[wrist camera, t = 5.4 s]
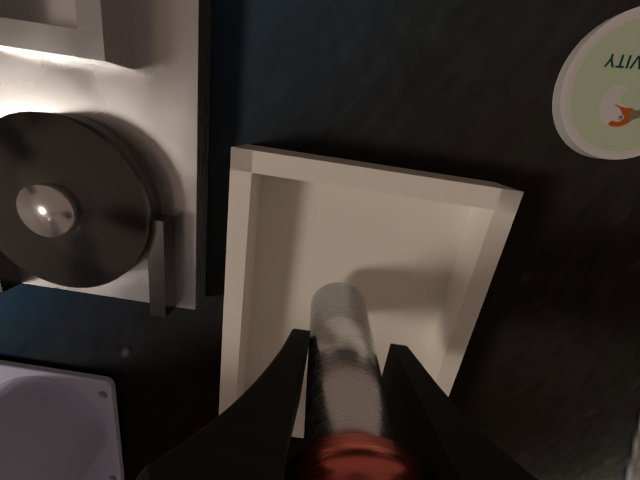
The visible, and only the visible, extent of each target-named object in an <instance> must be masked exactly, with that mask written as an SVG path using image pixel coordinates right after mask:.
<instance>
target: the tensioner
mask: <svg viewBox="0 0 640 480" xmlns="http://www.w3.org/2000/svg"><path fill="white" fill-rule="evenodd" d="M211 28H212V0H0V292H4V291H6V290H8V289H10V288H12V287H14V286H16V285H18V284H20V283H26V284H32V285H39V286H45V287H52V288H58V289H65V290H71V291H78V292H84V293H91V294H97V295H104V296H110V297H116V298H123V299H129V300H136V301H142V302H149V303H150V315H154V316H160V317H166V316H167V315H168V314H169V313H170V312H171V311H172V310H173V309H174V308H175V307H181V308H188V309H194V310H195V309H196V308H197V307H198V306H199V304H200V303H201V302H202V300H203V299H204V298H205V288H206V245H207V202H208V158H209V115H210V72H211Z"/></svg>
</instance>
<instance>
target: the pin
mask: <svg viewBox="0 0 640 480" xmlns="http://www.w3.org/2000/svg"><path fill="white" fill-rule="evenodd" d="M309 331H311V332H310V341H309V347H308V366H307V385H306V405H305V424H304V443H303V449H301V450H300V451H299V452H298V453H297V454H296V455H295V456H293V458H292V459H291V460H290V462H289V464H288V466H287V468H286V471H285V478H284V480H423V476H422V473H421V469H420V466H419V463H418V461H417V460H416V458H415V457H414V456H413V454H412V453H411V452H410V451H409V450H407V449H406V448H405V447H403V446H402V445H400V444H398V443H397V442H396V437H395V433H394V429H393V424H392V420H391V415H390V411H389V406H388V402H387V397H386V393H385V389H384V384H383V380H382V375H381V371H380V366H379V362H378V358H377V353H376V349H375V344H374V340H373V335H372V331H371V327H370V322H369V318H368V313H367V309H366V304H365V300H364V297H363V295H362V294H361V292H360V291H359V290H358V289H357V288H356V287H354V286H352V285H350V284H347V283H341V282H335V283H330V284H327V285H325V286H323V287H321V288H320V289H319V290H317V291H316V293H315V294H314V296H313V297H312V300H311V309H310V328H309Z"/></svg>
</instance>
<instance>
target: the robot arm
mask: <svg viewBox="0 0 640 480" xmlns="http://www.w3.org/2000/svg"><path fill="white" fill-rule="evenodd" d="M310 332H311V331H308V330H301V329H295V328H294V329H293V330H291V332H290V335H289V336H288V338H287V340H286V342H285V343H284V345H283V347H282V348H281V350H280V351H279V352H278V354H277V355H276V357H275V358H274V359H273V361H272V362H271V363H270V365H269V366H268V367H267V368H266V369H265V371H264V372H263V373H262V374H261V375H260V376H259V378H258V379H257V380H256V381H255V382H254V383H253V384H252V385H251V386H250V387H249V388H248V389H247V390H246V391H245V392H244V393H243V394H242V395H241V396H240V397H239V398H238V399H237V400H236V401H235V402H234V403H233V404H232V405H231V406H229V407H228V408H227V409H226V410H225V411H224V412H223V413H221V414H220V415H219V416H218V417H217V418H215V419H214V420H213V421H212V422H210V423H209V424H207V425H206V426H205V427H203V428H202V429H201V430H199V431H198V432H197V433H195V434H194V435H193V436H191V437H190V438H189V439H187V440H186V441H184V442H183V443H181V444H180V445H178V446H177V447H175V448H173V449H172V450H170V451H169V452H167V453H165V454H164V455H162V456H161V457H159V458H157V459H156V460H154V461H153V462H151V463H149V464H148V465H146V466H145V468H144V469H143V470H142V471H141V473H140V474H139V475H138V476H137V478H136V479H135V480H282V476H283V471H284V466H285V461H286V457H287V453H288V449H289V445H290V440H291V436H292V432H293V428H294V424H295V420H296V415H297V411H298V407H299V403H300V397H301V391H302V385H303V378H304V372H305V366H306V360H307V354H308V347H309V341H310ZM382 380H383V384H384V389H385V393H386V397H387V402H388V406H389V411H390V415H391V420H392V424H393V429H394V433H395V437H396V442H397V443H398V444H400V445H402V446H403V447H405V448H406V449H407V450H409V451H410V452H411V453H412V454H413V456H414V457H415V458H416V460H417V461H418V463H419V466H420V469H421V473H422V476H423V480H537V479H536V478H535V477H534V476H532V475H531V474H530V473H528V472H527V471H526V470H525V469H523V468H522V467H521V466H520V465H519V464H517V463H516V462H515V461H514V460H513V459H512V458H510V457H509V456H508V455H507V454H506V453H504V452H503V451H502V450H501V449H500V448H499V447H498V446H496V445H495V444H494V443H493V442H492V441H491V440H490V439H489V438H488V437H487V436H486V435H485V434H484V433H483V432H482V431H480V430H479V429H478V428H477V427H476V426H475V425H474V424H473V423H472V422H471V421H470V420H469V419H468V418H467V417H466V416H465V415H464V414H463V413H462V411H461V410H460V409H459V408H458V407H457V406H456V405H455V404H454V403H453V402H452V401H451V399H450V398H449V397H448V396H447V395H446V394H445V393H444V391H443V390H442V389H441V388H440V387H439V386H438V384H437V383H436V382H435V381H434V379H433V378H432V377H431V376H430V374H429V373H428V372H427V371H426V369H425V368H424V367H423V366H422V364H421V363H420V362H419V360H418V359H417V358H416V357H415V355H414V354H413V353H412V351H411V350H410V349H409V348H408V347H407V346H405V345H399V344H392V343H391V344H390V348H389V351H388V355H387V359H386V363H385V366H384V370H383V374H382ZM0 480H125V479H124V469H123V459H122V449H121V439H120V429H119V419H118V408H117V398H116V388H115V383H114V381H113V379H111V378H110V377H107V376H101V375H95V374H88V373H82V372H75V371H69V370H62V369H56V368H49V367H43V366H36V365H30V364H24V363H17V362H11V361H4V360H0Z"/></svg>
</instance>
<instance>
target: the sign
mask: <svg viewBox="0 0 640 480" xmlns="http://www.w3.org/2000/svg"><path fill="white" fill-rule="evenodd" d="M552 112H553V119H554V123H555V126H556V129H557V131H558V133H559V135H560V136H561V138H562V139H563V141H564V142H565V143H566V144H567V145H568V146H569V147H570V148H572V149H573V150H575V151H576V152H578V153H580V154H582V155H585V156H588V157H592V158H599V159H613V160H617V159H627V158H632V157H636V156H640V7H636V8H633V9H631V10H628V11H626V12H623V13H621V14H619V15H616V16H614V17H612V18H610V19H608V20H607V21H605V22H603V23H602V24H600V25H599V26H597V27H596V28H595V29H593V30H592V31H591V32H590V33H589V34H587V35H586V36H585V37H584V38H583V39H582V40H581V41H580V42H579V44H578V45H577V46H576V47H575V48H574V50H573V51H572V52H571V54H570V55H569V56H568V58H567V60H566V61H565V63H564V65H563V67H562V69H561V71H560V73H559V76H558V78H557V81H556V84H555V88H554V93H553V101H552Z"/></svg>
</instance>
